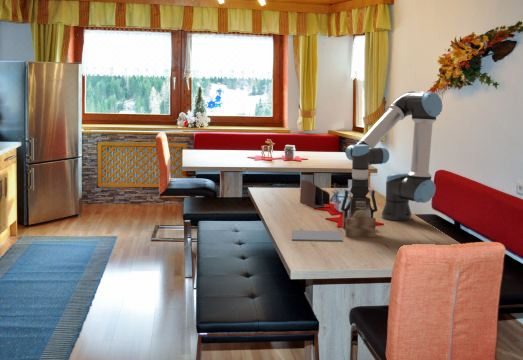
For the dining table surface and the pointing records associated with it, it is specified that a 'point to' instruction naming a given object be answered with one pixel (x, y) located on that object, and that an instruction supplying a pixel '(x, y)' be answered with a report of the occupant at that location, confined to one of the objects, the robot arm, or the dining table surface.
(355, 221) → the packet holder
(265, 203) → the dining table surface
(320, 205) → the letter holder
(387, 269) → the dining table surface
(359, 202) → the coffee box
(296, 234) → the rubber mat
